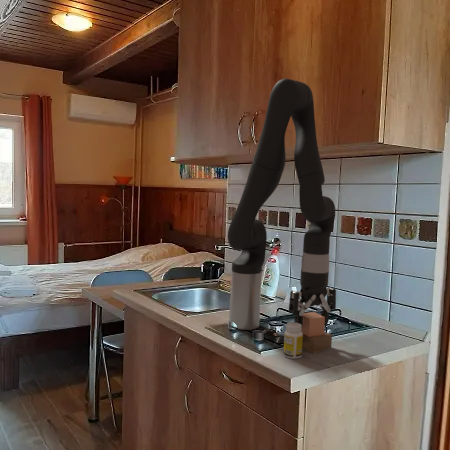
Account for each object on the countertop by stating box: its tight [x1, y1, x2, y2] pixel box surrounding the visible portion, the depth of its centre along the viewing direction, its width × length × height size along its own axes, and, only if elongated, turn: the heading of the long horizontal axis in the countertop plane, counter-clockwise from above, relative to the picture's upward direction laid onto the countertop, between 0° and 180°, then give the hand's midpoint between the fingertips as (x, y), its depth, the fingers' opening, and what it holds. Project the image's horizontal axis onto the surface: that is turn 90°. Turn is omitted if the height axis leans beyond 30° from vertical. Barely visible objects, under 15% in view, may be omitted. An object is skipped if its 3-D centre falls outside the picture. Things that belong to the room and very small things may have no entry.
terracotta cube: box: [301, 311, 325, 337], centre depth 129 cm, size 5×5×5 cm
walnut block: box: [302, 331, 333, 354], centre depth 129 cm, size 8×8×4 cm
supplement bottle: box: [283, 321, 303, 360], centre depth 122 cm, size 5×5×8 cm
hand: (311, 326), depth 129 cm, fingers open, 8 cm apart
